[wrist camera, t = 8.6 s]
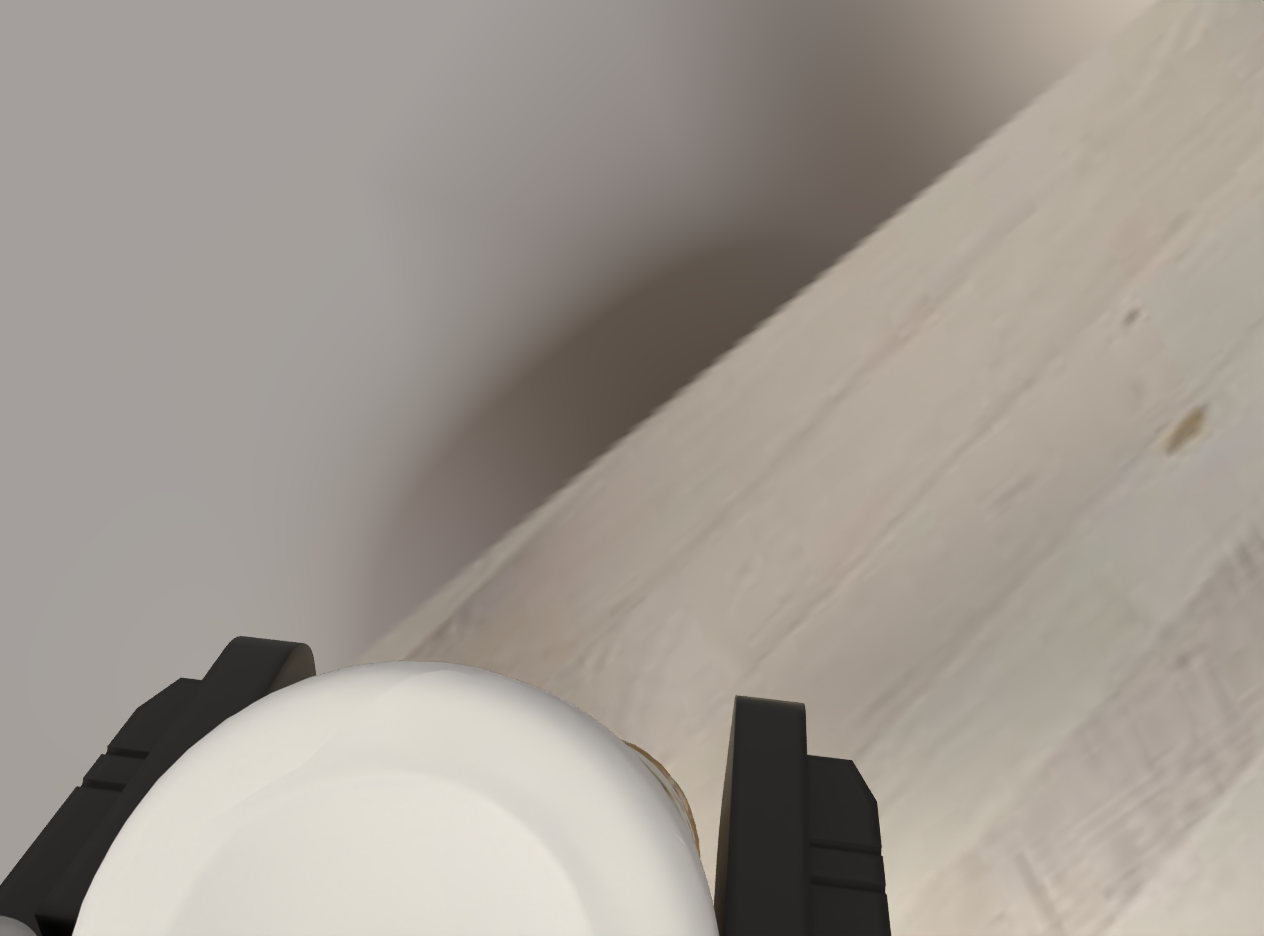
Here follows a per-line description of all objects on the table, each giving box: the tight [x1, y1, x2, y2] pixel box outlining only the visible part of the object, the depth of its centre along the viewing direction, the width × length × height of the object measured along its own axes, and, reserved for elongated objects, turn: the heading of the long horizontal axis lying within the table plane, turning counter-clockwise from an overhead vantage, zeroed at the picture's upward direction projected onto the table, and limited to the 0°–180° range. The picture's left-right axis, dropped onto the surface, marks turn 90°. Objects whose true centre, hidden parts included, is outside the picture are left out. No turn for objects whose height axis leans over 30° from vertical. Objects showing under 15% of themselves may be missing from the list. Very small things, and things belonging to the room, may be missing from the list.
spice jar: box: [72, 661, 719, 936], centre depth 13 cm, size 5×4×13 cm
